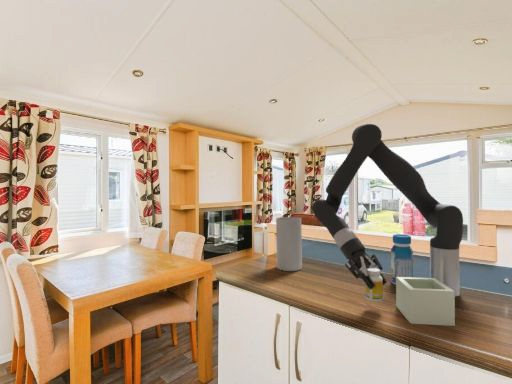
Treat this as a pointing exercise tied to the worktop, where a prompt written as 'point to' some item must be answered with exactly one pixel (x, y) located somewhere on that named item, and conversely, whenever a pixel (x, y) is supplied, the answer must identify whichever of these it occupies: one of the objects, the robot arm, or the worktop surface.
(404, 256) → the beverage bottle
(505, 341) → the worktop surface
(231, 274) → the worktop surface
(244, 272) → the worktop surface
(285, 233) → the cylinder vase
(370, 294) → the supplement bottle
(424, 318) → the open box
